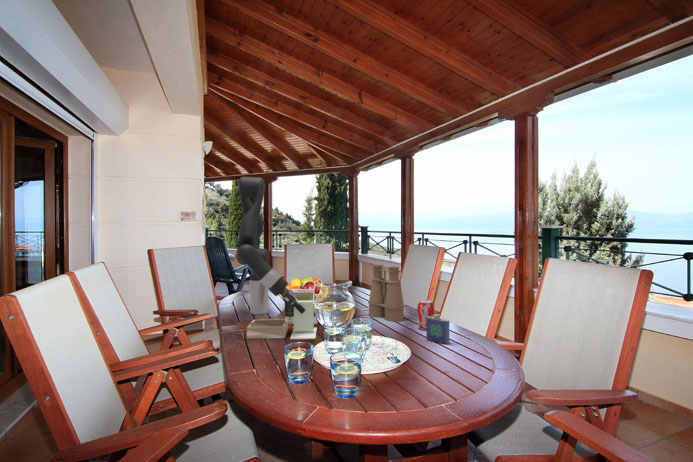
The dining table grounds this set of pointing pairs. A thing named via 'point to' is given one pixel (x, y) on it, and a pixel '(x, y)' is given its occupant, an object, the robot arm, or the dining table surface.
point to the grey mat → (304, 334)
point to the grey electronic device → (303, 296)
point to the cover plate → (304, 317)
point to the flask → (438, 330)
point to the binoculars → (386, 294)
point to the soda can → (424, 313)
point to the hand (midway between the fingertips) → (304, 310)
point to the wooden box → (267, 328)
